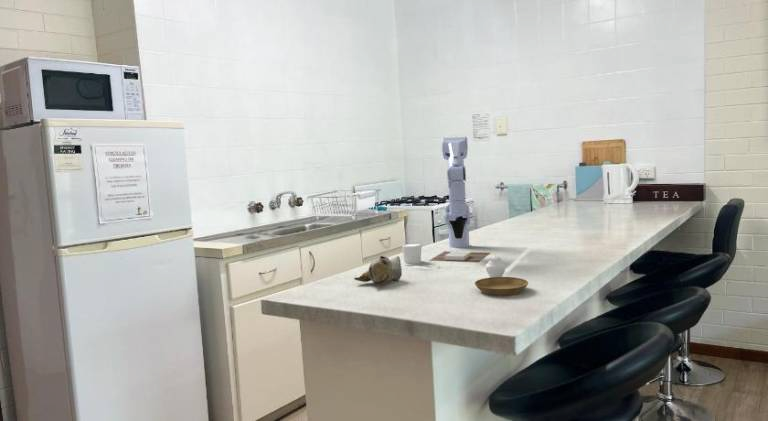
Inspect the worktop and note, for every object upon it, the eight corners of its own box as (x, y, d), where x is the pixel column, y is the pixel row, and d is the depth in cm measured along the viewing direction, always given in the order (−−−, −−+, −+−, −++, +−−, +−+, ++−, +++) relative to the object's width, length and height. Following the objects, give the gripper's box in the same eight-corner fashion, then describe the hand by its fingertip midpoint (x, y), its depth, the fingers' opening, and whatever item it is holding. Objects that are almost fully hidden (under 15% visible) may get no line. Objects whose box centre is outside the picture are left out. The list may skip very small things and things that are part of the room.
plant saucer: (475, 298, 161) (475, 289, 160) (474, 285, 175) (474, 276, 175) (531, 297, 159) (531, 288, 158) (525, 284, 173) (525, 276, 173)
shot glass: (422, 262, 212) (421, 243, 212) (422, 266, 206) (421, 246, 205) (403, 262, 213) (402, 243, 212) (402, 266, 206) (401, 247, 206)
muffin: (506, 280, 179) (505, 257, 178) (485, 280, 180) (484, 257, 179) (506, 275, 185) (505, 253, 184) (486, 275, 186) (485, 253, 185)
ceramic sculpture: (410, 252, 183) (373, 263, 174) (412, 280, 185) (376, 292, 175) (387, 249, 191) (350, 260, 182) (389, 276, 193) (353, 287, 183)
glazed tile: (452, 251, 217) (444, 255, 209) (470, 251, 214) (463, 256, 206) (452, 255, 217) (444, 260, 209) (470, 256, 214) (464, 261, 206)
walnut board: (444, 254, 226) (444, 251, 226) (491, 255, 219) (491, 252, 219) (428, 263, 210) (428, 260, 210) (478, 265, 203) (478, 262, 203)
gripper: (452, 198, 219) (453, 234, 221) (440, 202, 206) (441, 241, 207) (471, 198, 216) (472, 235, 218) (459, 202, 203) (461, 241, 205)
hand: (458, 238), depth 212 cm, fingers closed
